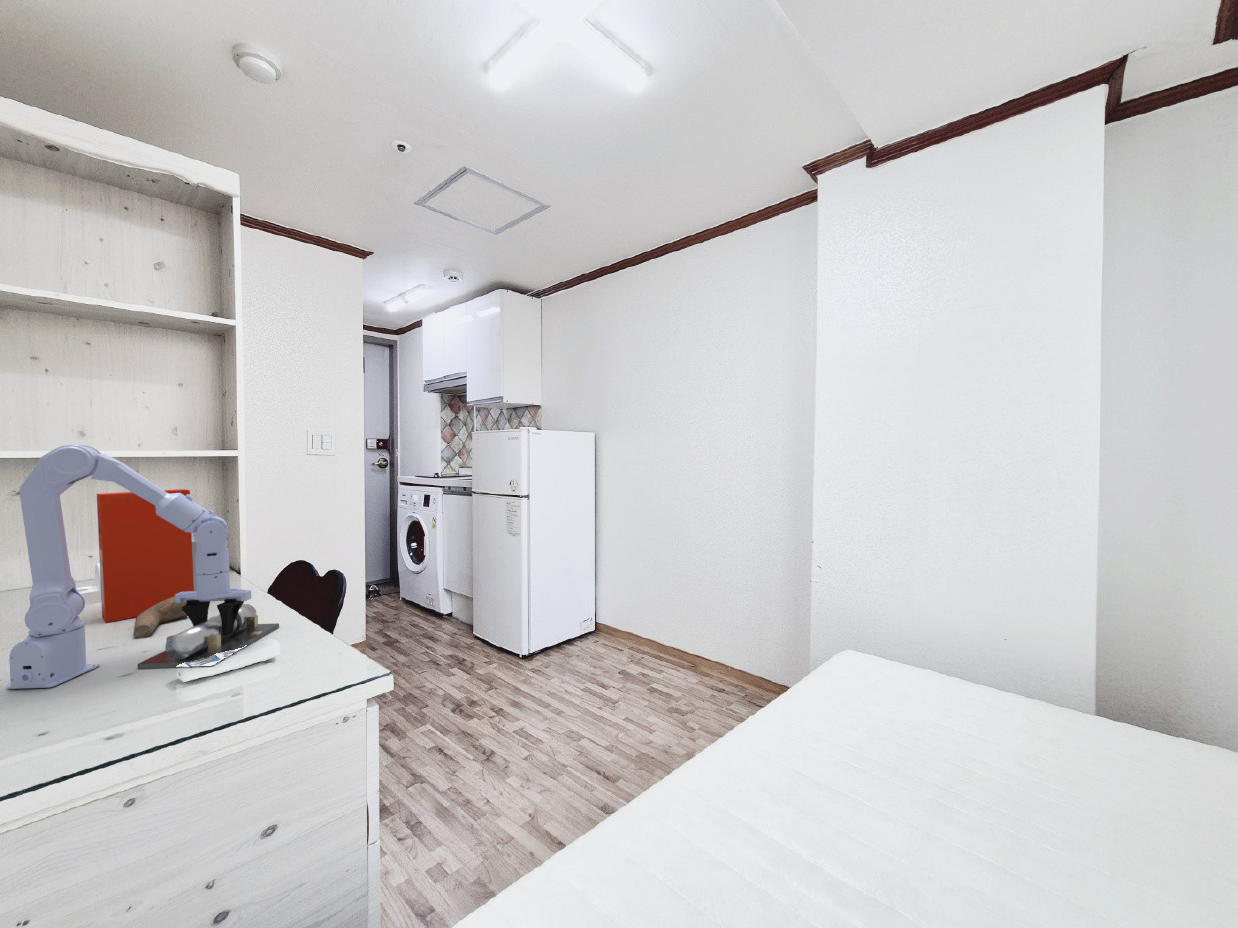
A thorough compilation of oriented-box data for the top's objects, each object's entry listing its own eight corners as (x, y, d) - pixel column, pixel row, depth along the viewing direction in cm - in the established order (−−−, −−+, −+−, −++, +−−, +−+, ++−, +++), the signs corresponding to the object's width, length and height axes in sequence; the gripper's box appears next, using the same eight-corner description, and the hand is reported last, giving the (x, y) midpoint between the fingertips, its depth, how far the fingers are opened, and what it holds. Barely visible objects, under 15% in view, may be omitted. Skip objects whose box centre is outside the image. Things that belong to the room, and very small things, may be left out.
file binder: (102, 616, 133) (96, 493, 132) (187, 601, 146) (183, 488, 145) (105, 623, 128) (100, 495, 127) (194, 606, 141) (190, 490, 140)
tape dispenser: (151, 594, 154) (149, 558, 154) (63, 609, 140) (61, 570, 140) (145, 589, 160) (143, 554, 160) (60, 603, 146) (58, 565, 146)
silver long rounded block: (192, 659, 102) (191, 631, 102) (165, 659, 102) (165, 632, 102) (256, 624, 122) (256, 601, 122) (234, 624, 122) (234, 601, 122)
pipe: (125, 621, 115) (182, 605, 121) (134, 603, 128) (185, 589, 134) (132, 648, 116) (189, 630, 122) (140, 627, 129) (191, 613, 135)
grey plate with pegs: (212, 666, 102) (211, 643, 101) (137, 668, 101) (136, 646, 101) (279, 627, 124) (278, 608, 123) (218, 629, 123) (217, 610, 123)
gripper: (259, 566, 116) (261, 626, 116) (192, 568, 115) (194, 628, 116) (238, 574, 109) (240, 637, 109) (166, 576, 108) (168, 640, 109)
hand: (215, 633), depth 112 cm, fingers closed on silver long rounded block, 5 cm apart
